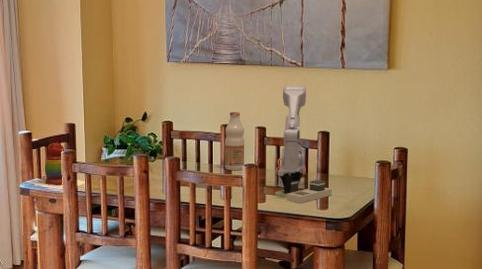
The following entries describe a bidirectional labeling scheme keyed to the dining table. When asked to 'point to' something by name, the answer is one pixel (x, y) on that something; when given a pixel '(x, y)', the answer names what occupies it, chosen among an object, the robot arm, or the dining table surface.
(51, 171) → the stacking bear
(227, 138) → the fruit juice
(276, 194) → the tray
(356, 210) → the dining table surface
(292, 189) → the plug
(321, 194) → the strip
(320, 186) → the twin plug
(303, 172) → the sugar bowl
